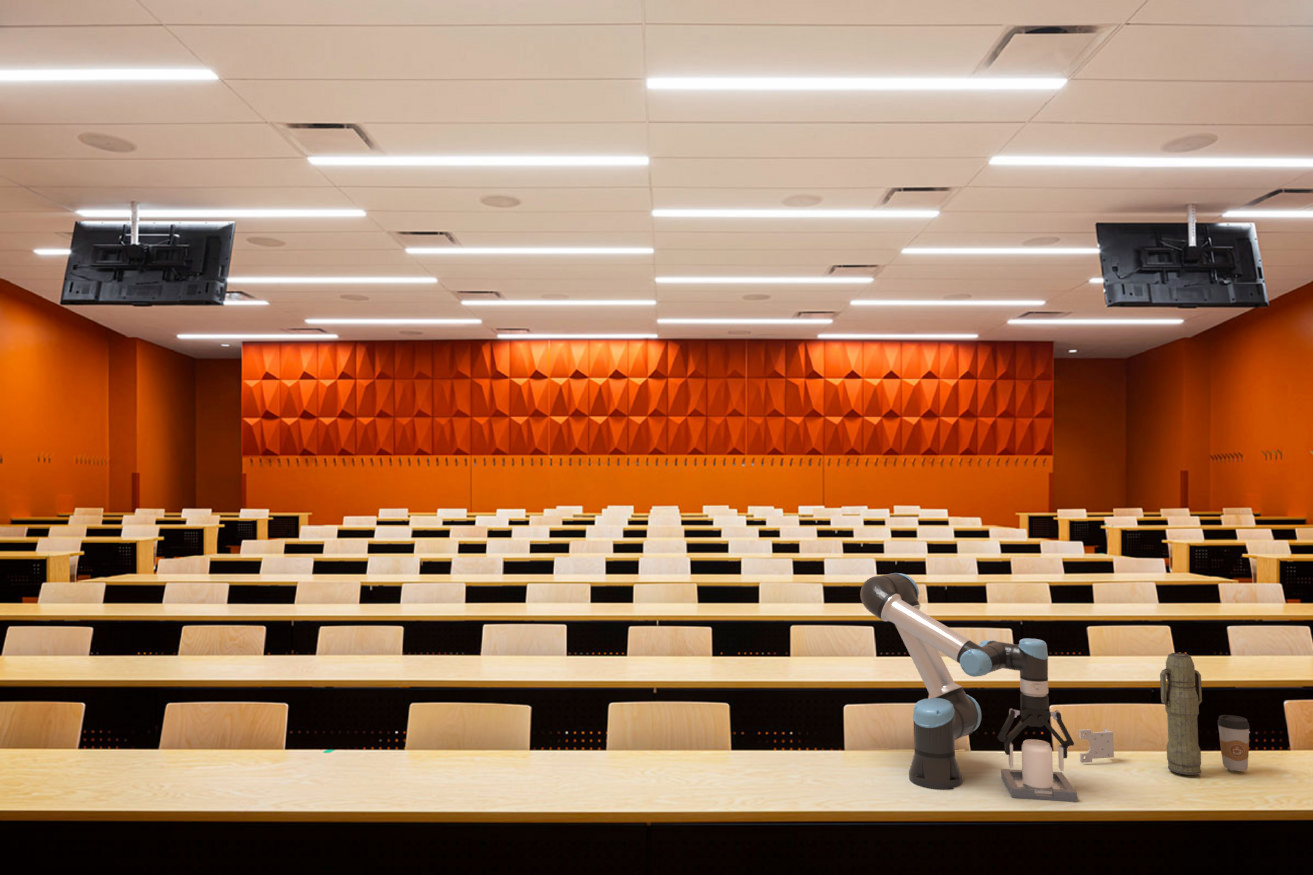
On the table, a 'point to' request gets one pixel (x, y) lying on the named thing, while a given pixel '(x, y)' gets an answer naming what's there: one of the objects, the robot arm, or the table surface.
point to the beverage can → (1037, 764)
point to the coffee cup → (1234, 741)
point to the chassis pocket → (1020, 790)
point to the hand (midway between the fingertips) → (1035, 767)
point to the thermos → (1182, 713)
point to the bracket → (1097, 745)
